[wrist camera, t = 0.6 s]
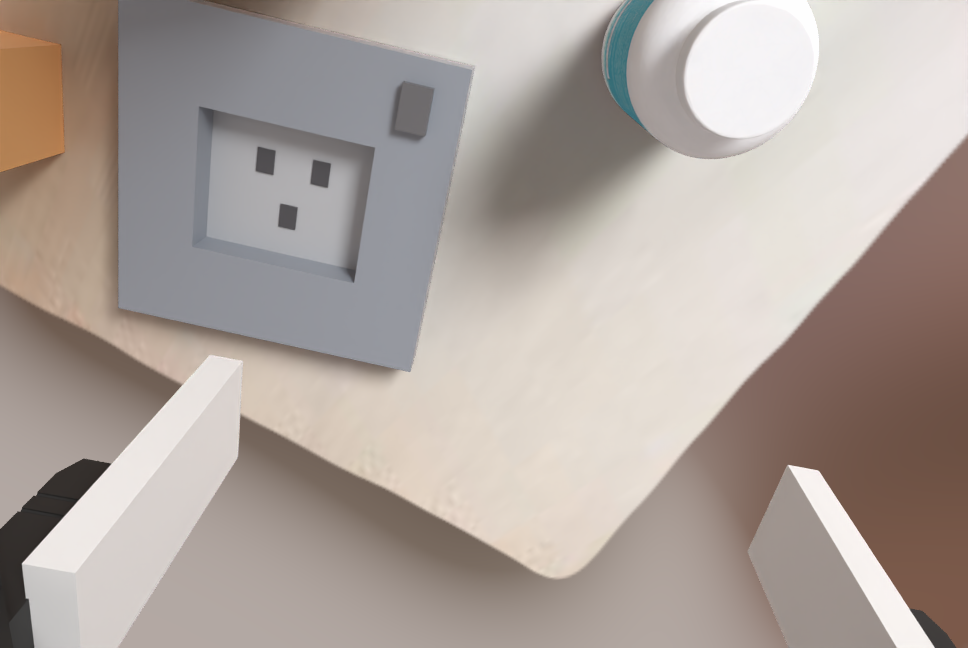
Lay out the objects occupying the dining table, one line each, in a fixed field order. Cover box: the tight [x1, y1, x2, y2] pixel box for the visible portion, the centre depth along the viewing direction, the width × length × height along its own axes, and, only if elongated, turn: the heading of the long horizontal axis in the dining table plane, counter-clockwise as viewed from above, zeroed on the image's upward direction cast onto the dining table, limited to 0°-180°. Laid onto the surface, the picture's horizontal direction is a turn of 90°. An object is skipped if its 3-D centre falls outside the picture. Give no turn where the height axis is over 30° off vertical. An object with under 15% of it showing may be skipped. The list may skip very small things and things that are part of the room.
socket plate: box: [118, 0, 475, 372], centre depth 39 cm, size 18×18×3 cm
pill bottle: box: [602, 0, 819, 159], centre depth 30 cm, size 8×7×14 cm
